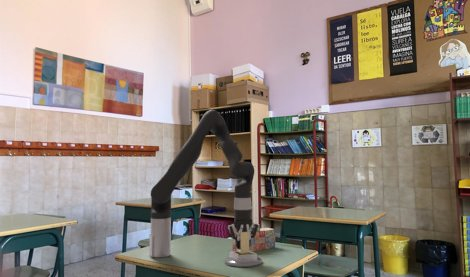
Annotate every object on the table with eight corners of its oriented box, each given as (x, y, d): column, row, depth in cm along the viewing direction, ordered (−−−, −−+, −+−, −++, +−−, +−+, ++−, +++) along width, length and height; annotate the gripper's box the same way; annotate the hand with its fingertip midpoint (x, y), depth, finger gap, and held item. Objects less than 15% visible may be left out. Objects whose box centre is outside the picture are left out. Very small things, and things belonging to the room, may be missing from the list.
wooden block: (240, 256, 155) (240, 232, 156) (237, 254, 159) (236, 230, 160) (249, 255, 157) (249, 231, 157) (245, 253, 160) (245, 230, 161)
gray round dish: (232, 269, 147) (232, 258, 147) (219, 259, 162) (219, 250, 162) (268, 264, 153) (268, 255, 153) (252, 256, 168) (252, 247, 168)
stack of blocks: (268, 245, 191) (268, 221, 192) (275, 248, 186) (275, 223, 186) (232, 250, 181) (232, 225, 182) (238, 253, 175) (238, 226, 176)
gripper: (230, 209, 153) (231, 252, 152) (261, 208, 159) (261, 248, 157) (224, 208, 160) (224, 248, 159) (253, 206, 165) (254, 245, 164)
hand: (243, 248), depth 158 cm, fingers closed on wooden block, 4 cm apart
